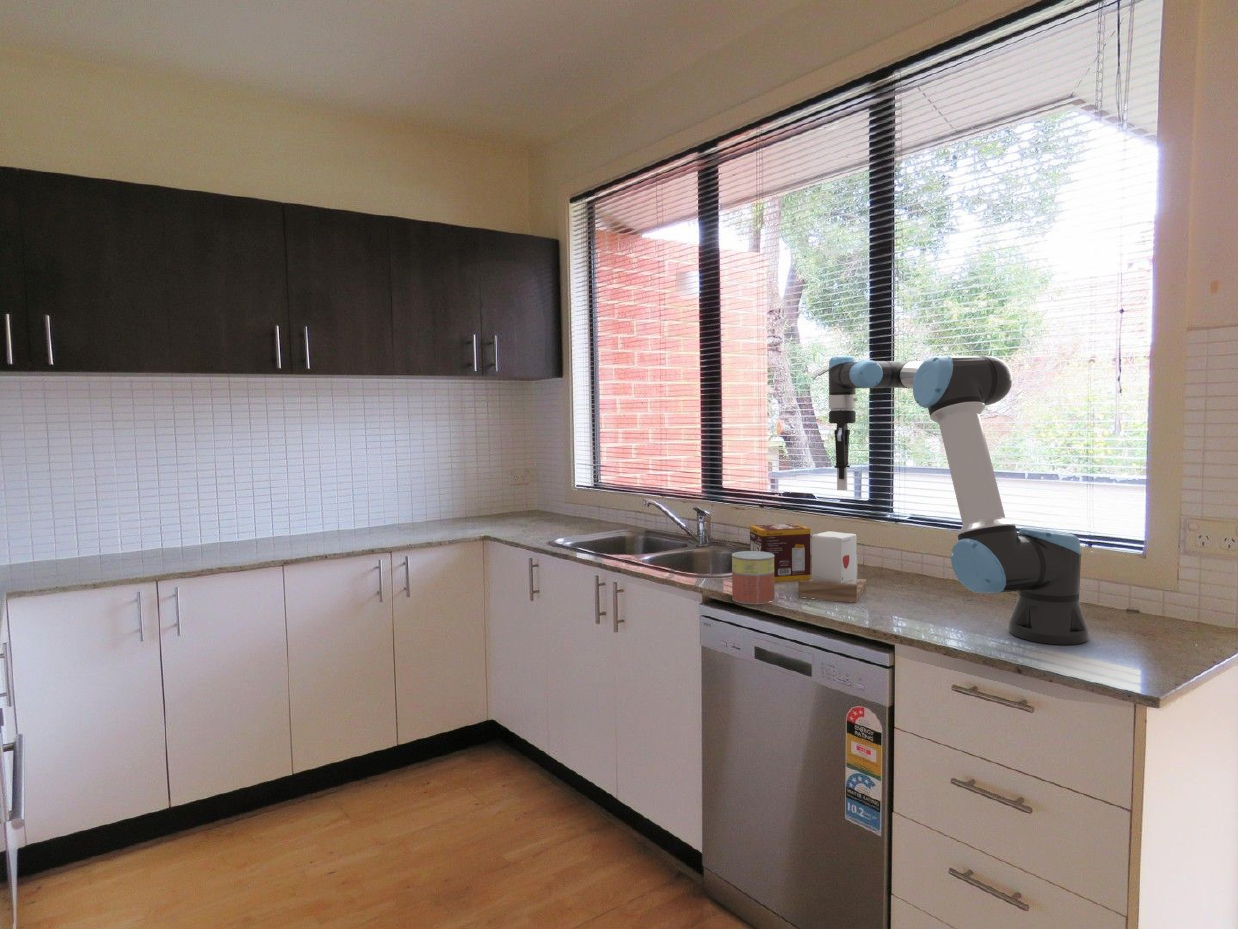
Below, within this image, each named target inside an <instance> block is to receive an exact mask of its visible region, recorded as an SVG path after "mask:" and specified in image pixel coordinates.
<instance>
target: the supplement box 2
mask: <svg viewBox="0 0 1238 929" xmlns="http://www.w3.org/2000/svg"><path fill="white" fill-rule="evenodd" d="M857 537H858V536H857V534H856V533H849V532H848V533H847V532H846V533H845V532H840V531H831V530H829V531H824V532H819V533H816V534H812V536H811V577H812V581H818V582H832V583H846V584H856V556H857V541H858V540H857V539H858V538H857Z"/></svg>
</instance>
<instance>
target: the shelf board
mask: <svg viewBox="0 0 1238 929" xmlns="http://www.w3.org/2000/svg"><path fill="white" fill-rule="evenodd" d="M857 580H859V582H858V584H846V583H832V582H818V581H812V576H811V579H810V580H799V581H798V583H797V584H798V587H797V588H798V592H797V593H798V595H797V597H806V598H815V599H814V600H818V599H824V600H823V601H830V600H833V602H834V601H835V602H843V601H852V602H851V603H855V602H857V603H858V602H859V599H860V597H861V595H862V593H863V592H862V591H864V590H865V588H866V585H867V579H866V578H857ZM863 589H864V590H863ZM806 598H805V599H806Z"/></svg>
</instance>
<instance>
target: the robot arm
mask: <svg viewBox="0 0 1238 929" xmlns="http://www.w3.org/2000/svg"><path fill="white" fill-rule="evenodd" d="M1013 380H1014V379H1013V373H1012V370H1011V368H1010V366H1009V364H1008V365H1007V363H1006V362H1005V361H1004V360H1002V359H1000V358H998V357H996V356H991V355H949V354H943V355H937V356H936V355H935V356H934V355H933V356H930V357H927V358H926V359H924V360H923V361H919V360H917V361H915V360H886V361H885V360H870V359H869V360H867V359H866V360H865V359H862V360H859V361H856V357H854V356H851V355H849V356H847V355H846V356H845V355H843V356H833V357H831V358H830V359H829V362H828V409H829V412H828V423H829V424H836V429H834V430H833V431H834V442H835V443H834V444H835V446H834V447H835V465H834V469H836V490H837V491H848V468H850V467H851V465H849V446H850V445H849V444H850V436H851V435H850V434H851V430H850V429H849V426H848V424H855V423H856V415H857V414H856V413H857V411H855V410H854V409H856V402H857V401H858V398H857V397H856V395H857V394H856V390H857V389H884V388H885V389H887V388H889V389H891V388H893V389H897V388H898V389H912V395H913V398H914V401H915V403H916V404H917V405H918V406H920V407H922V408H923V409H927V410H928V414H929V418H930V420H931V421H933V422H935V423H937V424H938V425H939V429H940V434H941V438H942V443H943V446H944V452H945V455H946V460H947V465H948V468H949V472H950V476H951V477H950V478H951V482H952V485H953V486H952V487H953V489H954V490H953V491H954V494H955V498H956V503H957V507H958V510H959V511H958V512H959V515H960V518H961V523H962V525H961V526H962V527H961V528H960V530H959V531H958V533H957V534H956V535H957V539H958V541H957V542H956V543H954V545H953V547H952V549H951V552H952V553H951V554H950V564H951V567H952V570H953V573H954V575H955V577H956V579H957V580H958V582H960V584H961V585H962V586H964V587H965V588H966V589H967V590H969V591H970V592H973V593H975V594H990V595H995V594H999V593H1010V592H1017V594H1018V596H1017V599H1016V602H1015V604H1014V608H1013V610H1012V613H1011V615H1010V618H1009V621H1008V632H1009V633H1010V634H1011V635H1013V636H1015V637H1017V638H1020V639H1023V640H1026V641H1029V642H1030V641H1031V642H1036V643H1040V644H1049V645H1063V646H1064V645H1080V644H1085V643H1086V642H1088V640H1089V627H1088V624H1087V622H1086V618H1085V616H1084V612H1083V610H1082V606H1081V603H1080V589H1081V588H1080V587H1081V586H1080V585H1081V584H1080V583H1081V563H1082V562H1081V560H1082V559H1081V558H1082V552H1081V541H1080V538H1078V536H1077V535H1076V534H1072V533H1069V532H1065V531H1064V532H1063V531H1058V530H1053V529H1052V530H1051V529H1050V530H1048V529H1044V528H1043V529H1042V528H1034V527H1020V529H1019V531H1017V528H1016V527H1017V526H1016V524H1015V523H1013V522H1012V521H1010V520H1008V519H1007V518H1006V516H1005V515H1006V514H1005V511H1004V506H1003V502H1002V498H1001V496H1000V491H999V487H998V483H997V480H996V479H997V478H996V476H995V472H994V466H993V462H992V459H991V456H990V452H989V448H988V443H987V439H986V435H985V431H984V427H983V423H982V420H981V419H982V418H981V414H982V412H983V411H984V409H985V407H986V406H988V405H989V406H990V405H993V404H996V403H998V402H1000V401H1001V400H1003V399H1004V398H1005V397H1006V396H1007V395H1008V394H1009V392H1010V390H1012V389H1011V388H1012V385H1013Z"/></svg>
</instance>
